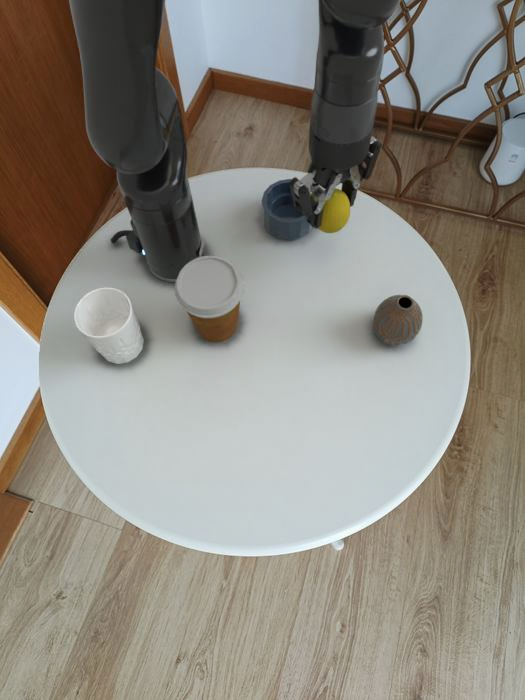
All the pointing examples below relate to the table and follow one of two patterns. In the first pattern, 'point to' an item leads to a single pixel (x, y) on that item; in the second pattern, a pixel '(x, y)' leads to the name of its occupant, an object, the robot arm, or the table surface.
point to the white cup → (110, 324)
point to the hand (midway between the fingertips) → (330, 213)
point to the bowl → (283, 212)
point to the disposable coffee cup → (211, 296)
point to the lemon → (335, 212)
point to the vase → (398, 320)
